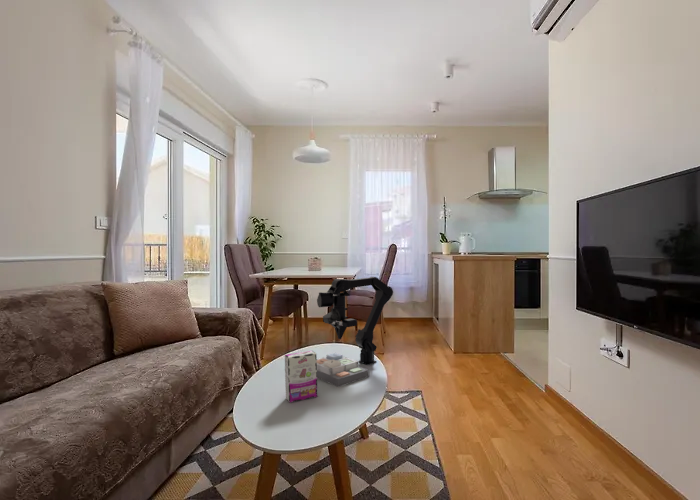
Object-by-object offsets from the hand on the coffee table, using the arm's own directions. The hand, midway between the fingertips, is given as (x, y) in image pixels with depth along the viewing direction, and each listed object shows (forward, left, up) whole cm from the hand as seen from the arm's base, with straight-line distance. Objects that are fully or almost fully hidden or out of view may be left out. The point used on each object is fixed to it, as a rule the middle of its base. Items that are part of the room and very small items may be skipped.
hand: (339, 339), depth 173 cm
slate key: (+5, +2, -8) cm, 10 cm away
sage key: (+5, +9, -10) cm, 14 cm away
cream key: (+12, +9, -8) cm, 17 cm away
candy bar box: (+34, +18, -13) cm, 41 cm away
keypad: (+8, +8, -13) cm, 17 cm away
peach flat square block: (+12, +2, -10) cm, 16 cm away
